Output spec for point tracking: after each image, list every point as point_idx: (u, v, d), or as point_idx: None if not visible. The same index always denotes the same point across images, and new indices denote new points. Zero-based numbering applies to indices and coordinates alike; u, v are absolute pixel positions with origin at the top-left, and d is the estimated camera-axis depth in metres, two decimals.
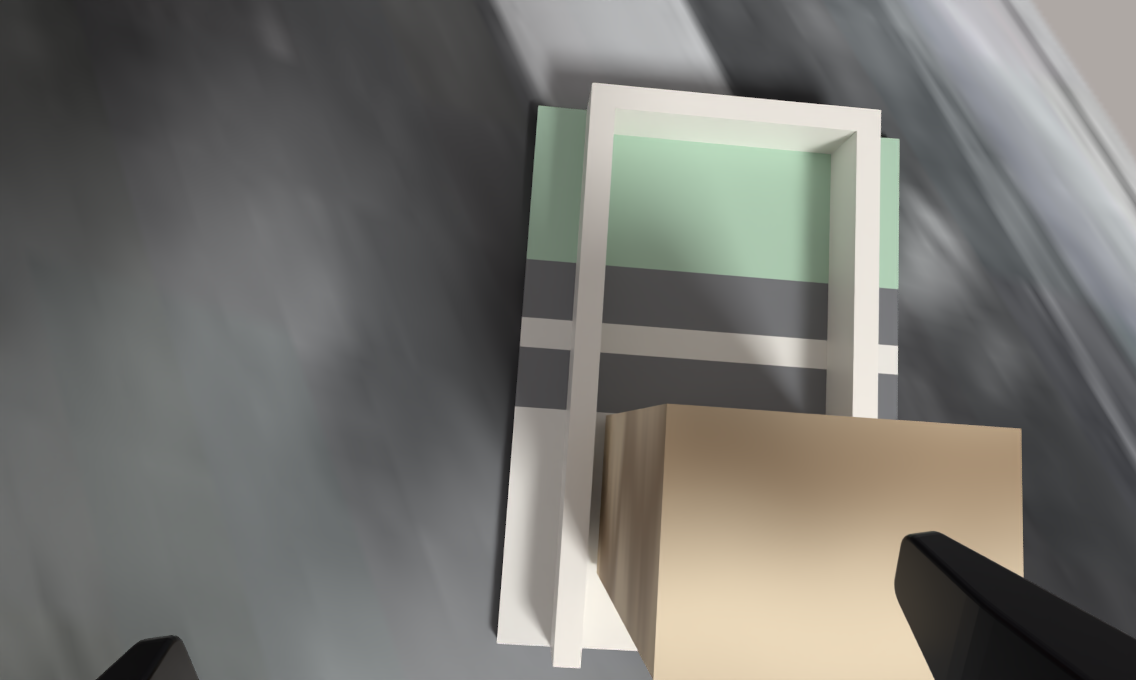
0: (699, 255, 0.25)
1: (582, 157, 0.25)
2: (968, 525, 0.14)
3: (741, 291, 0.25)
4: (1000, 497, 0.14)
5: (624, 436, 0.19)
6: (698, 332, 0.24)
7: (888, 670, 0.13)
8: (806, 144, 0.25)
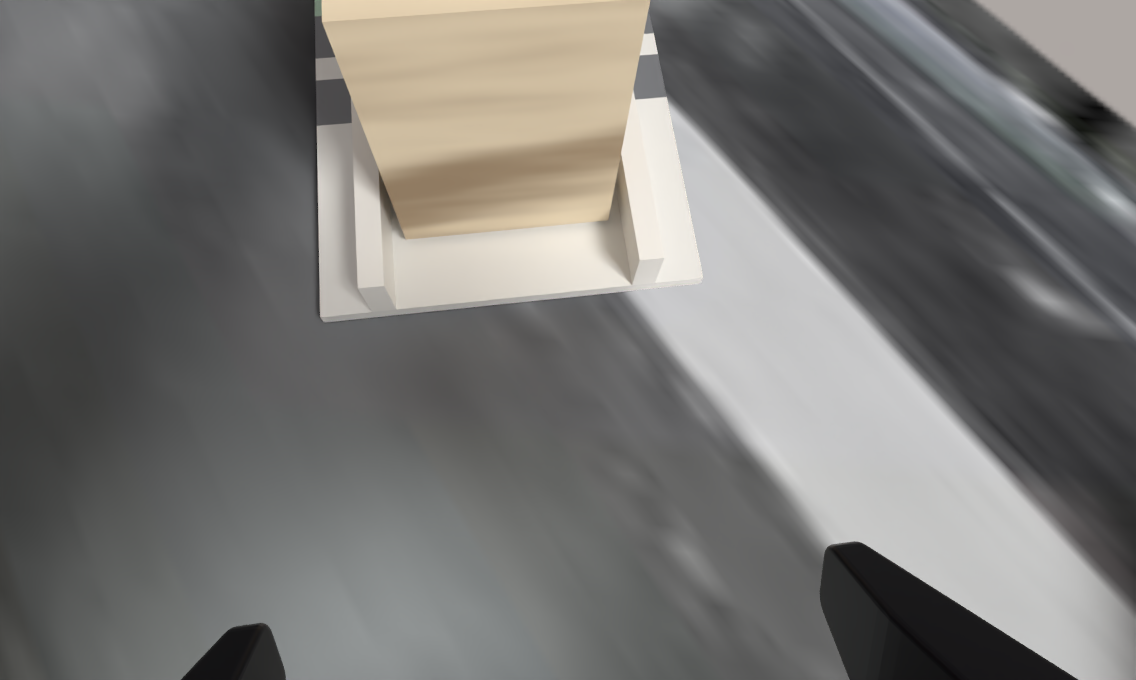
0: None
1: None
2: None
3: None
4: None
5: None
6: None
7: None
8: None
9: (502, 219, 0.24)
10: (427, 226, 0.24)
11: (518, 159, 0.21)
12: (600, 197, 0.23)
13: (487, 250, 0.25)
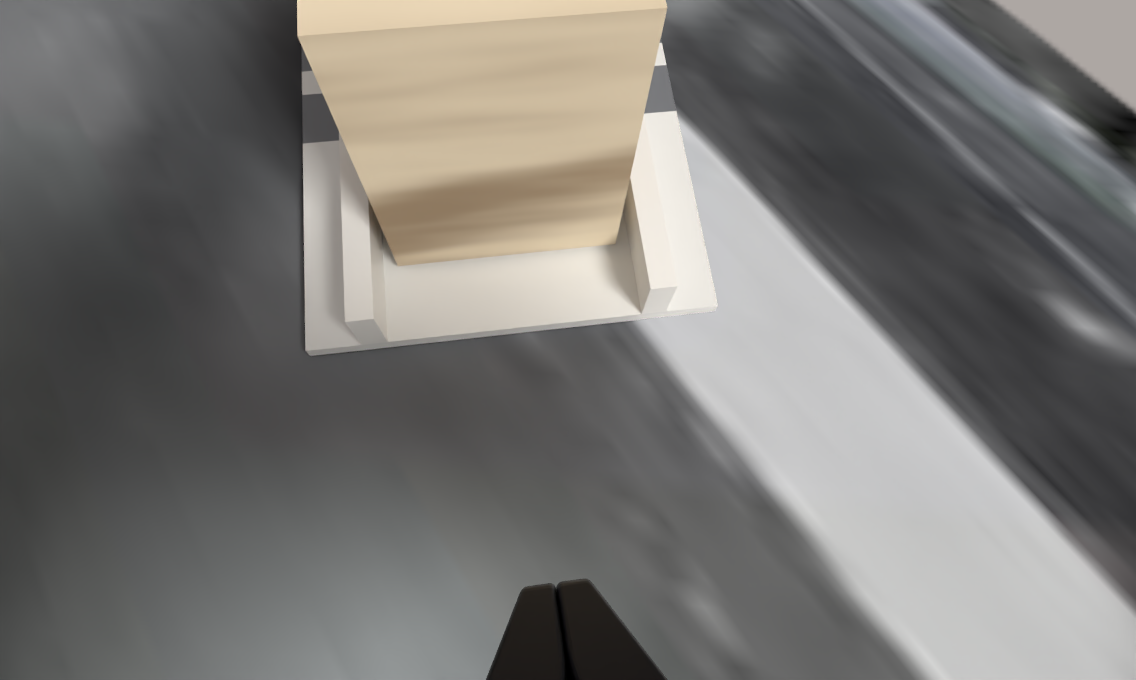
0: None
1: None
2: None
3: None
4: None
5: None
6: None
7: (529, 2, 0.14)
8: None
9: (501, 244, 0.22)
10: (421, 252, 0.22)
11: (519, 182, 0.19)
12: (607, 220, 0.22)
13: (485, 276, 0.23)
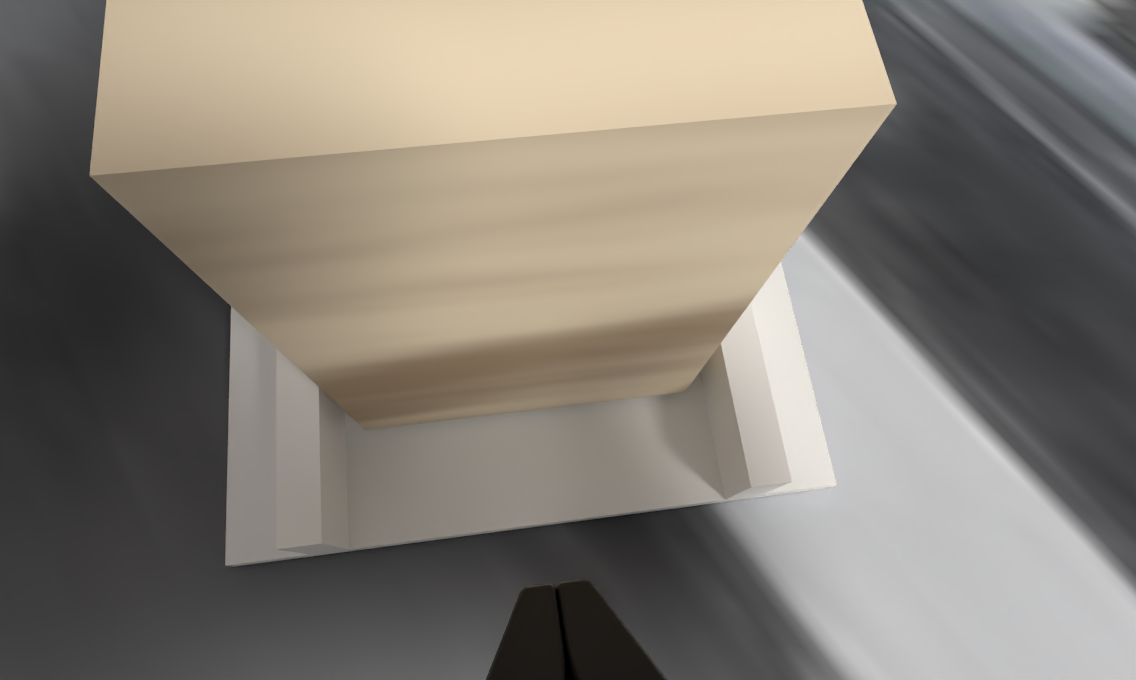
0: None
1: None
2: None
3: None
4: None
5: None
6: None
7: (604, 93, 0.06)
8: None
9: (519, 402, 0.15)
10: (398, 417, 0.15)
11: (553, 344, 0.12)
12: (680, 373, 0.14)
13: (494, 442, 0.16)
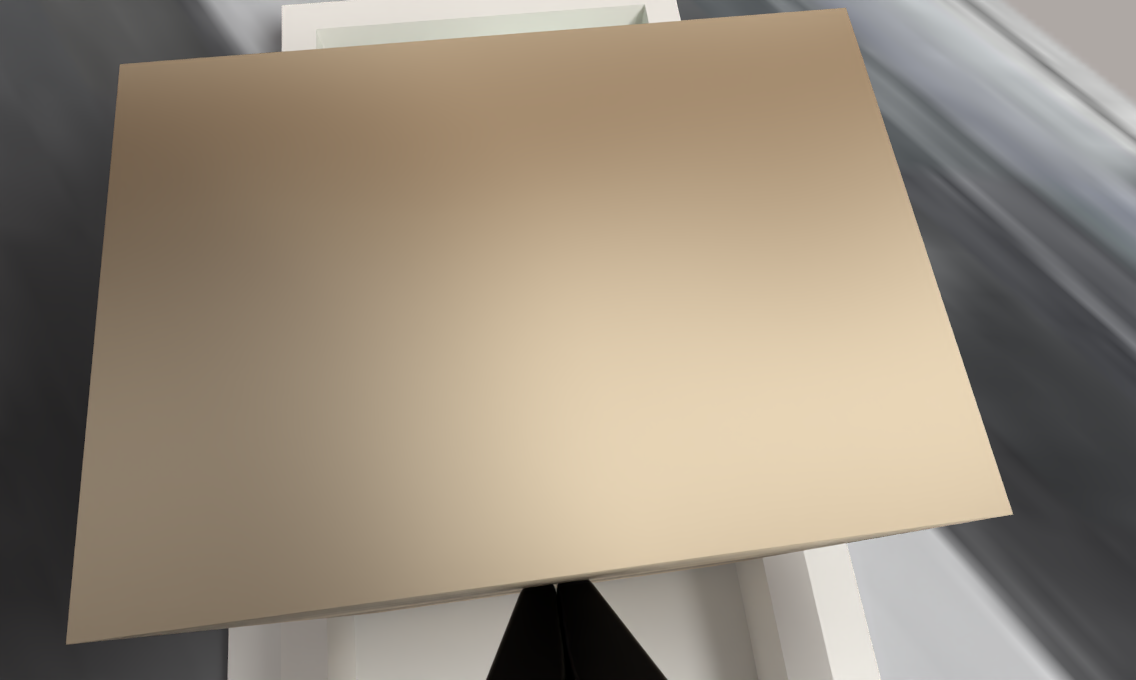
0: None
1: None
2: (786, 182, 0.06)
3: None
4: (838, 123, 0.07)
5: None
6: None
7: (671, 508, 0.05)
8: None
9: None
10: (411, 607, 0.14)
11: None
12: (714, 565, 0.13)
13: None
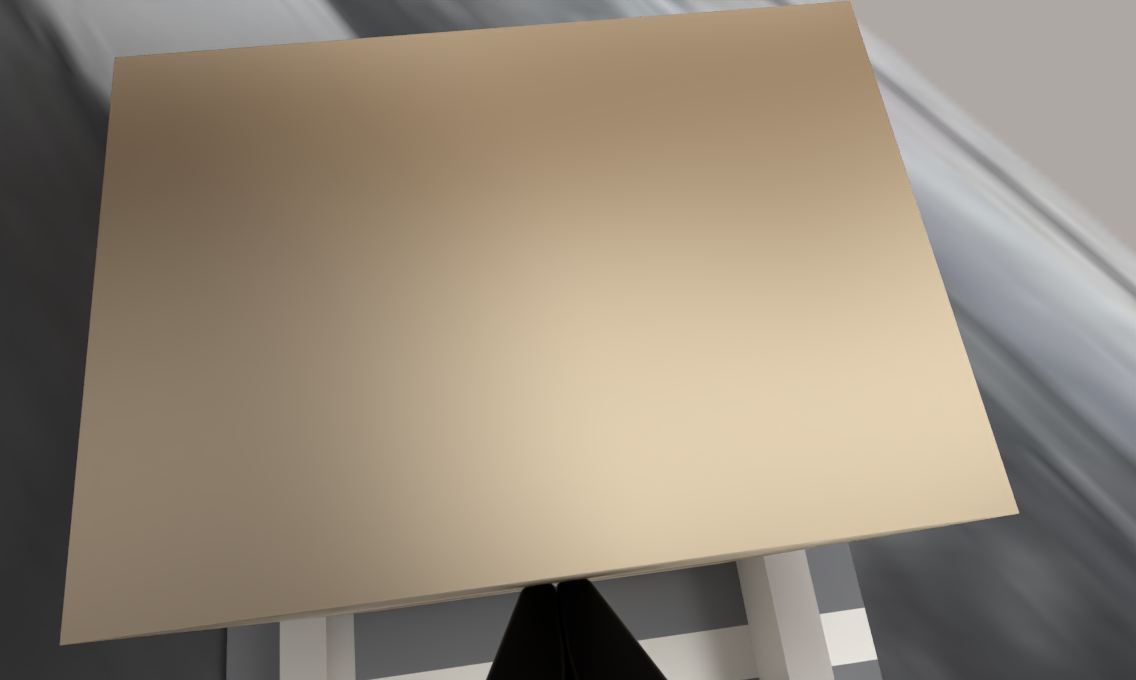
0: None
1: None
2: (789, 177, 0.06)
3: None
4: (842, 118, 0.07)
5: None
6: None
7: (674, 507, 0.05)
8: None
9: None
10: None
11: None
12: None
13: None
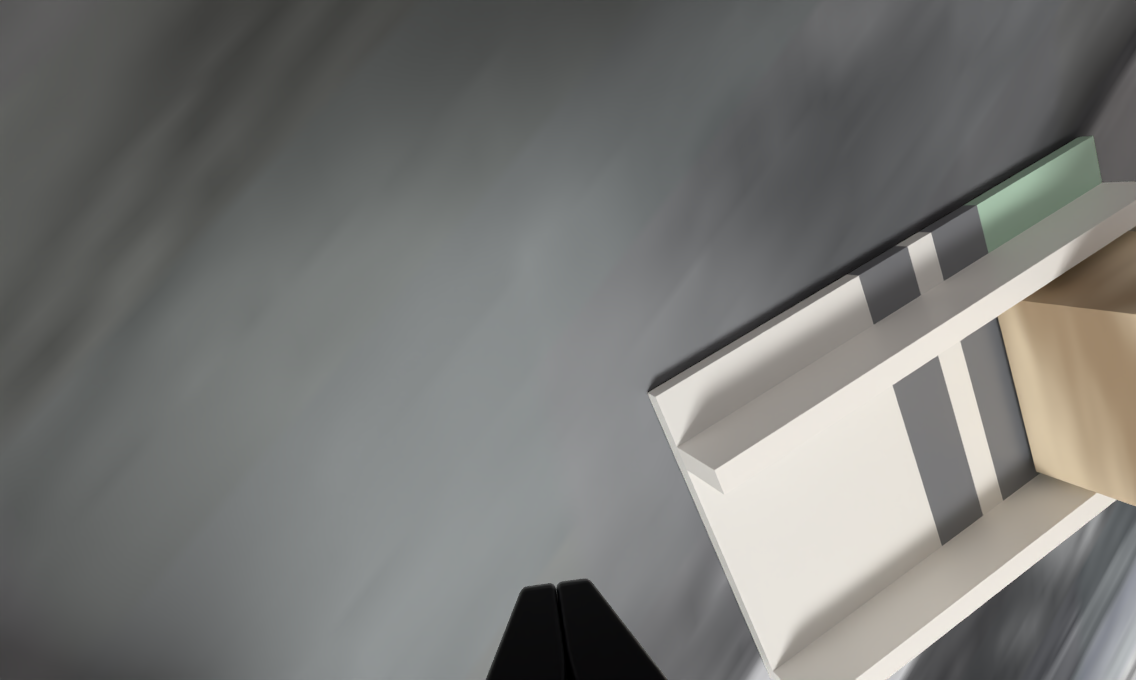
0: None
1: (1067, 203, 0.24)
2: None
3: (1014, 408, 0.25)
4: None
5: None
6: (973, 395, 0.24)
7: None
8: None
9: (1036, 389, 0.24)
10: (1020, 323, 0.23)
11: None
12: (1080, 477, 0.24)
13: (771, 523, 0.22)
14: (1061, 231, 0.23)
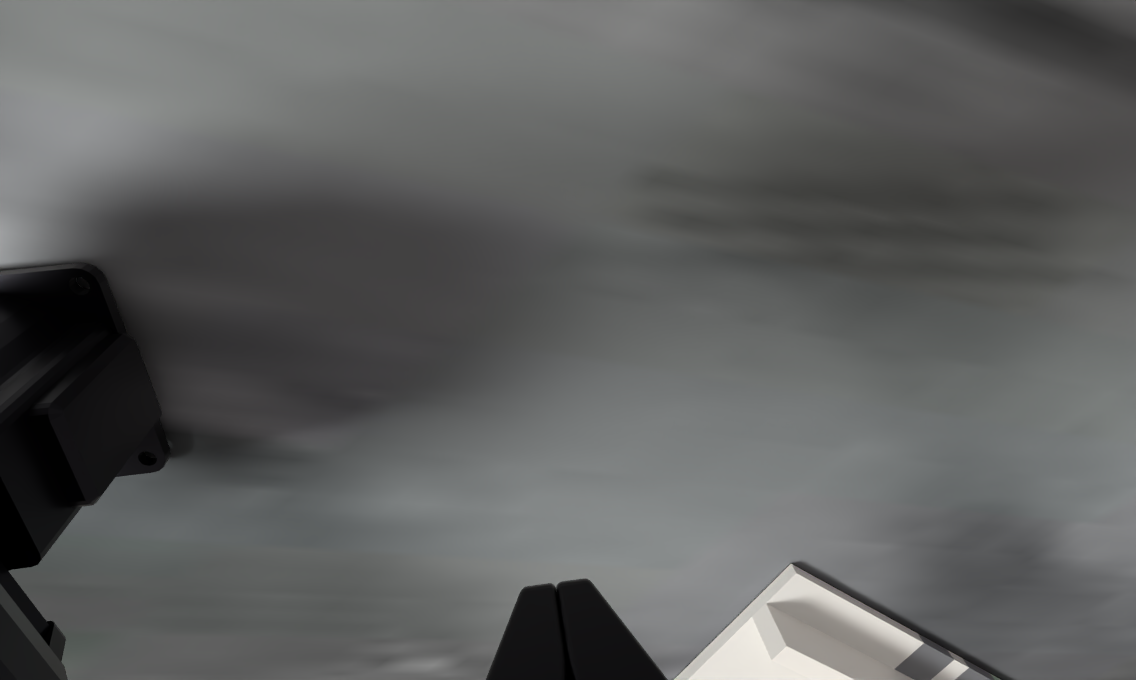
0: None
1: None
2: None
3: None
4: None
5: None
6: None
7: None
8: None
9: None
10: None
11: None
12: None
13: None
14: None
